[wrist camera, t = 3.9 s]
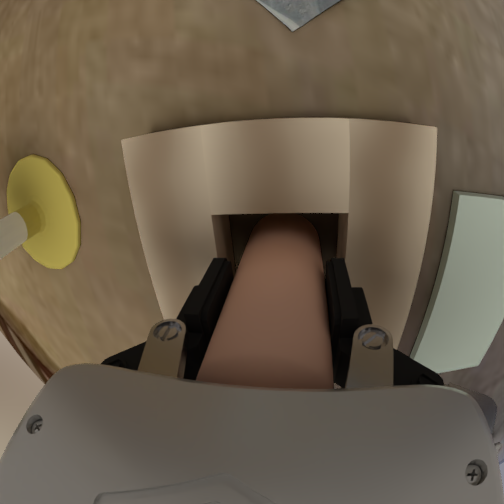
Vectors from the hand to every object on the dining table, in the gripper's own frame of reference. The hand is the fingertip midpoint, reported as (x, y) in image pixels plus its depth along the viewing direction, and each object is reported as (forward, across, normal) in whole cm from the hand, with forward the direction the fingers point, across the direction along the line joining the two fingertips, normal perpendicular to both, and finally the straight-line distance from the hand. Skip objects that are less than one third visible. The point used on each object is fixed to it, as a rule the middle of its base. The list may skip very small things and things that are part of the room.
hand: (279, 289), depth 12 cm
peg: (+4, 0, 0) cm, 4 cm away
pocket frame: (+4, 0, 0) cm, 4 cm away
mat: (+4, -14, +4) cm, 15 cm away
